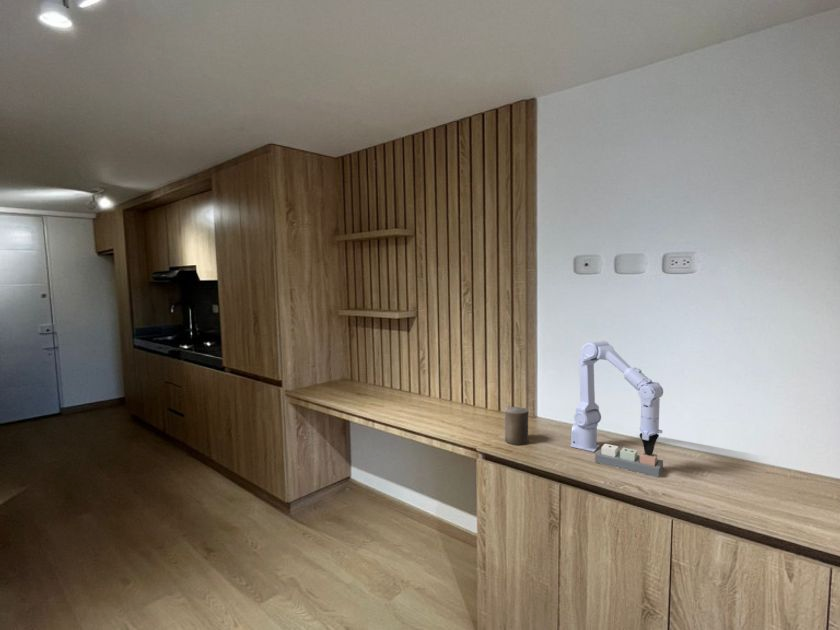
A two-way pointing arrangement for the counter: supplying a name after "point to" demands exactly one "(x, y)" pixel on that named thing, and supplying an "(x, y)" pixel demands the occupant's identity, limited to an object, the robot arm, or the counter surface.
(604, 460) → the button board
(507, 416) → the pillar candle
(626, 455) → the tile
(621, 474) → the counter surface
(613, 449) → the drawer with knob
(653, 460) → the three-pip tile
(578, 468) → the counter surface
